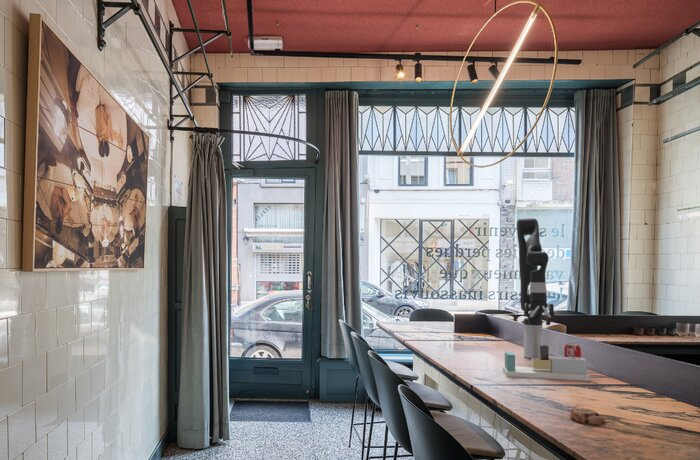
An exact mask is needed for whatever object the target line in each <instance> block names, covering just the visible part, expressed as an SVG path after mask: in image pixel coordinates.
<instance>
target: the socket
mask: <svg viewBox="0 0 700 460" xmlns="http://www.w3.org/2000/svg"><path fill="white" fill-rule="evenodd" d="M504 366H505V368H506V369H507V371H515V367H516V355H515V353H514V352H513V351H509V350H508V351H504Z"/></svg>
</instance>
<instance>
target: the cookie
mask: <svg viewBox="0 0 700 460" xmlns="http://www.w3.org/2000/svg"><path fill="white" fill-rule="evenodd" d="M569 418H570V419H571V420H574V421H576V422H579V423H582V424H585V425H586V424H587V425H593V426H594V425H595V426H596V425H601V424H603V423H605V421H606V419H605V417H604V416H602V415H600V414H599V413H598V412H597V411H596V410H593V409H590V408H584V407H582V408H580V407H579V408H573V409H571V410H570V417H569Z"/></svg>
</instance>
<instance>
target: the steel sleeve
mask: <svg viewBox="0 0 700 460" xmlns="http://www.w3.org/2000/svg"><path fill="white" fill-rule="evenodd" d="M549 359H551V360H552V370H550V371H551V372H552V373H568V374H588V360H587V359H586V358H584V357H582V356H581V357H564V356H558V355H557V356H556V355H555V356H554V355H549Z"/></svg>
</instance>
